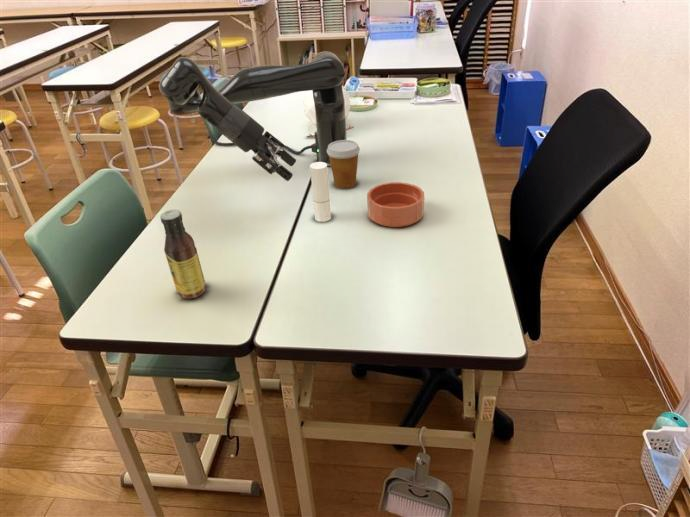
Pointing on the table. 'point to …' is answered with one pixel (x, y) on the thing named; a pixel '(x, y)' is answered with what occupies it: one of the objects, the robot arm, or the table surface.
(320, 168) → the tube
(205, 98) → the robot arm
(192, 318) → the table surface
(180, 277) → the sauce bottle
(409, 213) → the bowl
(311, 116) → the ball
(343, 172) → the disposable coffee cup
